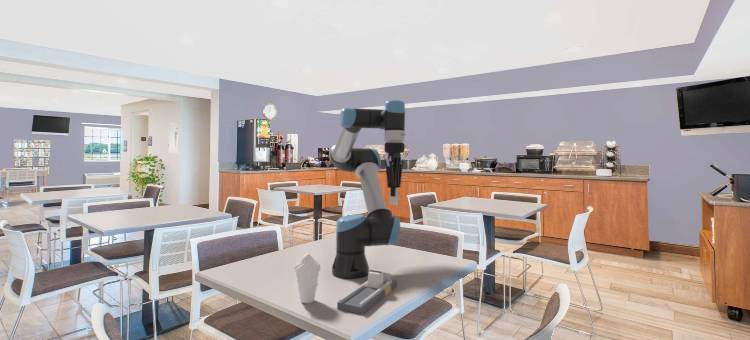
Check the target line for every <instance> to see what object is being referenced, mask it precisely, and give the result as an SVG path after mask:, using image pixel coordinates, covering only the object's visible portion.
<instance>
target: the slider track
mask: <svg viewBox="0 0 750 340" xmlns="http://www.w3.org/2000/svg"><path fill="white" fill-rule="evenodd" d="M396 287H398V281H397V280H396V279H395V280H394V279H392V273H390V272H389V273H388V272H384V271H383V286H381V287H380V288H379V289H376V288H371V287H368V280H367V281H365V282H363V283H362V284H360V285H359V286H358V287H356V288H354V289H353V290H351V291H350V292H349V293H346V294H345V295H344V296H342V297H341V298H339V299H338V302H337V306H336V307H337V308H336V309H337V310H342V311H345V312H350V313H354V314H360V315H364V314H365V313H366V312H368V311H369V310H370V309H371V308H373V307H374V306H375V305H376V304H377V303H379V302H380V301H381V300H382V299H384V297H386V296H387V295H388V294H390V292H392V291H393V290H394V289H395V288H396Z"/></svg>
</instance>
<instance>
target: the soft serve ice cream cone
mask: <svg viewBox="0 0 750 340" xmlns="http://www.w3.org/2000/svg"><path fill="white" fill-rule="evenodd" d="M294 270H295V271H294V272H295V274H296V275H295V276H296V283H297V284H296V286H297V289H298V292H299V294H298V295H299V299H300V302H301V304H311V303H314V302H315V299H316V292H317V289H318V288H317V287H318V285H319V284H318V280H319V279H318V278H319V275H320V274H319V272H320V271H321V264H320V262H318V260H316V259H315V258H314V257H313V256H312V255H311V254H310V253H307V252H306V253H305V254H304V256H303V257H301V258H300V259H299V260H298V262H296V263H295V266H294Z"/></svg>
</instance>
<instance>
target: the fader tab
mask: <svg viewBox="0 0 750 340" xmlns="http://www.w3.org/2000/svg"><path fill="white" fill-rule="evenodd" d="M383 272H384V271H383V270H377V269H369V273H368V274H367V281H368V287H371V288H376V289H379V288H380V287H381V286H383Z"/></svg>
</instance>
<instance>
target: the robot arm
mask: <svg viewBox="0 0 750 340" xmlns="http://www.w3.org/2000/svg"><path fill="white" fill-rule="evenodd" d="M405 108H406V107H405V102H404V101H402V100H396V99H395V100H393V99H392V100H386V102H384V109H378V108H377V109H376V108H375V109H374V108H358V107H356V108H355V107H344V108H342V109H341V110H340V115H339V123H340V125H341V129H340V131H339V134H338V136H337V140H336V142H335V145H333V146H332V147H331V149H330V153H329V159H330V161H331V164H332V165H333V166H334V167H335V168H336V169H338V170H339V171H341V172H344V173H345V172H346V173H347V172H349V173H351V172H352V173H354V174H355V176H356V177H357V178H358V179H359V182H360V185H361V186H360V187H361V189H362V195H363V198H364V202H365V207H366V210H367V214H366V215H364V214H362V213H361V214H359V213H358V214H350V215H344V216H341V217H339V218H338V219H337V221H336V228H335V233H336V237H335V238H336V239H335V241H336V242H335V243H336V244H335V246H336V248H335V250H336V252H335V253H336V254H335V257H334V261H333V264H332V266H331V274H332V275H333V276H334V277H337V278H341V279H359V278H363V277H366V276H368V273H369V272H370V266H369V264H368V259H367V257H366V253H365V252H366V251H365V250H366V249H365V248H366V247H377V246H378V247H379V246H389V245H391V246H392V245H395V244H397V243H398V241H399V239H400V235H401V221H400V220H401V219H399V217H398V216H393V213H392V210H391V209H388V208H387V204H386V200H385V197H384V194H383V191H382V187H381V183H380V179H379V177H378V174H379V171H380V169H381V164H382V161H381V156H380V152H379V151H378V150H377V149H375V148H369V147H366V148H355V147H354V144H355V143H356V140H357V138H358V136H359V133H360V132H361V129H380V130H384V139H383V140H384V142H385V143H384V153H386V154H387V160H385V161H384V165H385V172H386V173H385V175H386V183H387V188H389V190H390V191H389V204H390V206H398V205H399V188H401V187H402V174H403V166H404V160H402V156H401V154H404V153H405V148H406V147H405V143H404V142H405V136H406V133H405V128H406V127H405V125H406V121H405V120H406V117H405V116H406V109H405Z"/></svg>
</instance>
